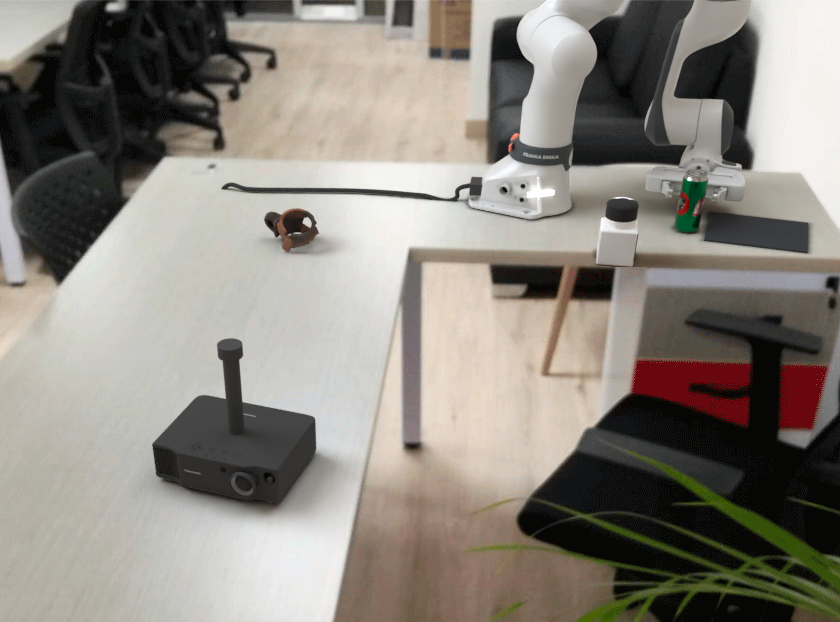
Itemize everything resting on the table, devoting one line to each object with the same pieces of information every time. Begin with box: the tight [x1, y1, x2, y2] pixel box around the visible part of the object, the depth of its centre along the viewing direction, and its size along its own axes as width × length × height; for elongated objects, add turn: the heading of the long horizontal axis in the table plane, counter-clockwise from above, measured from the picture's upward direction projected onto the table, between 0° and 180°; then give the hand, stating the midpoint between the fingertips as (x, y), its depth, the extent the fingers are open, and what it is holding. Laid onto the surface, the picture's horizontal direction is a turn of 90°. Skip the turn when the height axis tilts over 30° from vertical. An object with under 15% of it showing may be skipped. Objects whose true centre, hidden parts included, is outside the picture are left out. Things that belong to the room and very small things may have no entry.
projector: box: [151, 337, 317, 505], centre depth 150 cm, size 19×17×20 cm
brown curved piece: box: [263, 207, 320, 253], centre depth 220 cm, size 12×10×8 cm
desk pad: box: [703, 211, 809, 254], centre depth 224 cm, size 20×16×1 cm
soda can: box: [674, 169, 709, 234], centre depth 222 cm, size 5×5×12 cm
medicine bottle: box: [595, 196, 640, 268], centre depth 210 cm, size 7×7×12 cm
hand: (692, 196), depth 223 cm, fingers open, 8 cm apart
